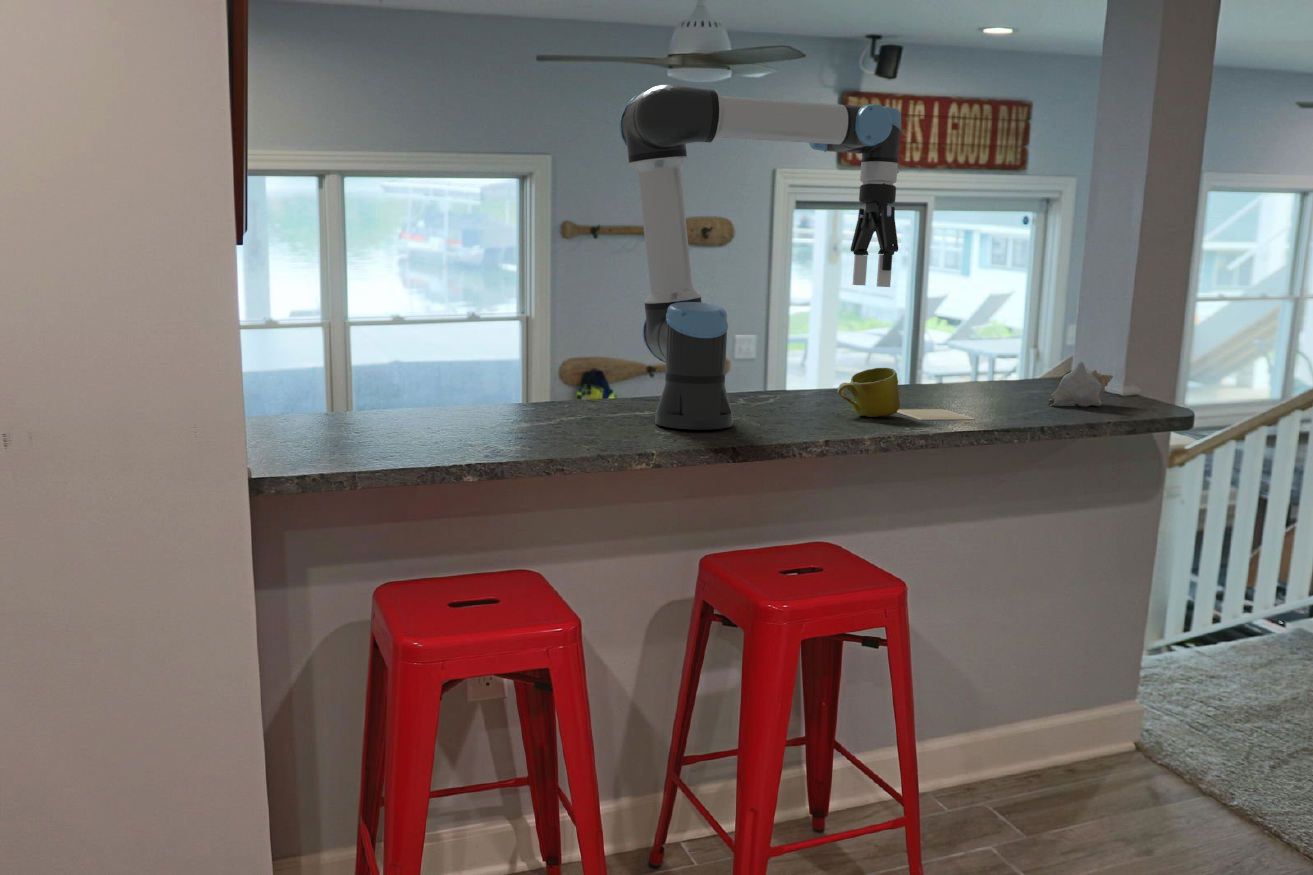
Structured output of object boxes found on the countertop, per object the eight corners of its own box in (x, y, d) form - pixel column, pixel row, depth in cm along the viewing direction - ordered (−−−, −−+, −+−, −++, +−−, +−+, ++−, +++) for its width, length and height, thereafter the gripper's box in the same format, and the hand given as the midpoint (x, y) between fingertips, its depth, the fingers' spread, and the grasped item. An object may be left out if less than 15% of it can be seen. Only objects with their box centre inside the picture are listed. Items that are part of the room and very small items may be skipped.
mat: (920, 420, 221) (920, 418, 221) (891, 410, 234) (891, 409, 234) (975, 419, 223) (975, 418, 223) (943, 410, 237) (943, 409, 237)
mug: (900, 391, 229) (890, 352, 224) (909, 420, 221) (899, 380, 215) (843, 407, 232) (831, 369, 226) (849, 436, 223) (837, 397, 218)
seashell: (1062, 426, 253) (1101, 373, 253) (1092, 435, 243) (1132, 380, 243) (1031, 397, 248) (1070, 344, 249) (1060, 405, 239) (1100, 349, 239)
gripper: (920, 181, 221) (911, 288, 224) (872, 188, 245) (865, 285, 248) (884, 179, 219) (876, 286, 223) (840, 186, 244) (833, 283, 247)
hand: (870, 286), depth 235 cm, fingers open, 13 cm apart
